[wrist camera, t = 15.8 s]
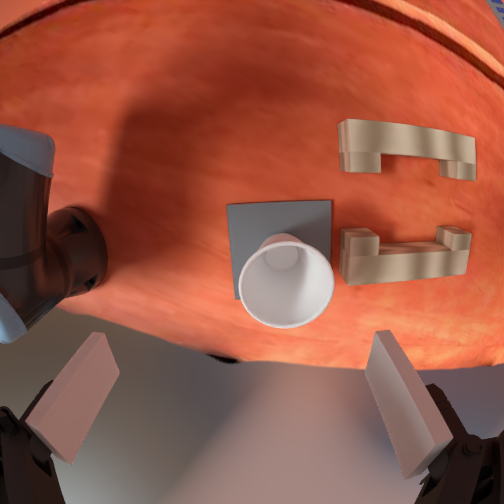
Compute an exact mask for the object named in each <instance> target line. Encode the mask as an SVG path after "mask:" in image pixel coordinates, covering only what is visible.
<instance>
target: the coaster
mask: <svg viewBox="0 0 504 504" xmlns="http://www.w3.org/2000/svg"><path fill="white" fill-rule="evenodd" d="M227 216H228V228H229V239H230V250H231V260H232V271H233V281H234V291H235V299H241V298H240V295H239V286H238V285H239V277H240V274H241V271H242V269H243V267H244V265H245V264H246V262H247V260H248V259H249V258H250V257H251V256H252V255H253V254H254V253H255V252H257V251H258V249H259V248H260V246H261V245H262V244H263V242H264V241H265V240H266V239H267V238H268V237H270V236H272V235H274V234H278V233H287V234H290V235H293V236H294V237H296V238H298V239H299V240H300V241H302V242H303V243H305V244H307V245H310V246H312V247H313V248H315V249H317V250H318V251H319V252H321V253H322V254H323V255H324V256H325V257H326V259H327V260H328V262H329V263H330V262H331V200H310V201H282V202H261V203H243V204H228V205H227Z"/></svg>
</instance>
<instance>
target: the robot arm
mask: <svg viewBox="0 0 504 504" xmlns="http://www.w3.org/2000/svg"><path fill="white" fill-rule="evenodd" d="M54 155H55V143H54V140H53V139H52V138H51V137H50V136H49V135H47V134H44V133H41V132H37V131H33V130H29V129H24V128H19V127H15V126H10V125H5V124H0V342H1V343H5V344H8V343H11V342H13V341H14V340H16V339H17V338H18V337H19V336H21V335H22V334H25V333H26V332H27V331H28V330H29V329H30V328H31V327H32V326H33V325H34V324H36V323H37V322H38V321H39V320H40V319H41V318H42V317H43V316H44V315H45V314H47V313H48V312H49V311H50V310H51V309H52V308H54V307H55V306H56V305H57V304H58V303H59V302H61V301H62V300H63V299H64V298H69V297H73V296H77V295H82V294H85V293H87V292H89V291H91V290H92V289H93V288H95V287H96V286H97V285H98V284H99V283H100V282H101V281H102V279H103V277H104V275H105V272H106V268H107V251H106V246H105V242H104V239H103V236H102V234H101V232H100V230H99V228H98V227H97V225H96V224H95V222H94V221H93V220H92V219H91V218H90V217H89V216H88V215H87V214H86V213H85V212H83V211H81V210H79V209H77V208H73V207H67V208H62V209H59V210H56V211H54V212H52V213H51V214H50V215H48V216H47V214H48V203H49V194H50V187H51V180H52V178H53V163H54ZM119 374H120V372H119V370H118V367H117V365H116V362H115V360H114V357H113V355H112V352H111V350H110V347H109V344H108V342H107V339H106V336H105V333H98V332H93V333H92V334H91V335H90V336H89V337H88V338H87V340H86V341H85V342H84V343H83V344H82V346H81V347H80V348H79V349H78V351H77V352H76V353H75V354H74V356H73V357H72V358H71V359H70V361H69V362H68V363H67V364H66V366H65V367H64V368H63V370H62V371H61V372H60V374H59V375H58V376H57V378H56V379H55V380H51V381H50V382H48V383H47V384H45V385H44V387H43V388H42V389H41V390H40V392H39V394H37V396H36V397H35V400H33V401H32V403H31V404H30V405H29V407H28V408H27V409H26V411H25V412H24V414H23V415H22V417H21V418H20V419H19V420H18V419H17V418H16V417H15V415H14V414H13V413H12V411H11V410H10V409H9V408H8V407H6V406H2V407H0V504H65V501H64V498H63V495H62V492H61V488H60V485H59V482H58V478H57V475H56V471H55V467H54V463H53V460H52V458H51V457H50V455H51V453H53V454H54V455H55V456H56V457H57V458H58V459H59V460H61V461H63V462H65V463H68V464H70V465H71V464H72V462H73V460H74V458H75V456H76V454H77V452H78V450H79V448H80V446H81V444H82V442H83V440H84V438H85V436H86V434H87V432H88V431H89V429H90V427H91V425H92V423H93V421H94V419H95V417H96V415H97V413H98V412H99V410H100V408H101V406H102V404H103V402H104V401H105V399H106V397H107V395H108V393H109V392H110V390H111V388H112V386H113V384H114V383H115V381H116V379H117V377H118V375H119ZM365 376H366V378H367V381H368V383H369V386H370V388H371V391H372V393H373V395H374V398H375V400H376V403H377V405H378V408H379V411H380V413H381V415H382V418H383V421H384V423H385V426H386V429H387V431H388V434H389V437H390V440H391V442H392V445H393V448H394V451H395V454H396V456H397V459H398V462H399V465H400V468H401V471H402V474H403V477H404V480H406V479H409V478H412V477H414V476H417V475H420V474H422V472H424V471H425V469H426V468H427V467H428V470H429V472H430V473H429V474H428V475H427V476H426V477H425V478H424V479H423V480H422V481H421V482H420V485H422V484H423V483H424V485H423V487H422V489H421V491H420V493H419V495H418V498H417V500H416V501H415V503H414V504H504V430H503V431H502V432H501V433H500V435H499V436H498V437H494V438H488V439H483V440H482V439H480V438H479V437H478V436H476V435H469V434H468V433H467V431H466V430H465V428H464V426H463V425H462V423H461V421H460V419H459V417H458V416H457V414H456V412H455V411H454V409H453V408H452V407H451V404H450V402H449V401H447V397H446V396H445V394H444V392H443V391H442V390H441V389H440V388H439V387H437V386H436V385H434V384H430V385H426V386H425V385H424V384H423V382H422V380H421V379H420V377H419V375H418V374H417V372H416V370H415V369H414V367H413V366H412V364H411V362H410V361H409V359H408V358H407V356H406V354H405V353H404V351H403V350H402V348H401V347H400V345H399V343H398V342H397V340H396V339H395V337H394V336H393V334H392V333H391V331H390V330H384V331H376V332H375V335H374V340H373V344H372V348H371V352H370V356H369V360H368V363H367V367H366V371H365Z"/></svg>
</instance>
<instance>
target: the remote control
mask: <svg viewBox="0 0 504 504" xmlns="http://www.w3.org/2000/svg"><path fill="white" fill-rule="evenodd" d="M485 1H486V2H487V3H488V5H489V6H490V8H491V9H492V11H493V13H494V14H495V16H496V17H497V19H498V21H499V22H500V24H501V26H502V27H503V29H504V4H503V2H502V1H501V0H485Z"/></svg>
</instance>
